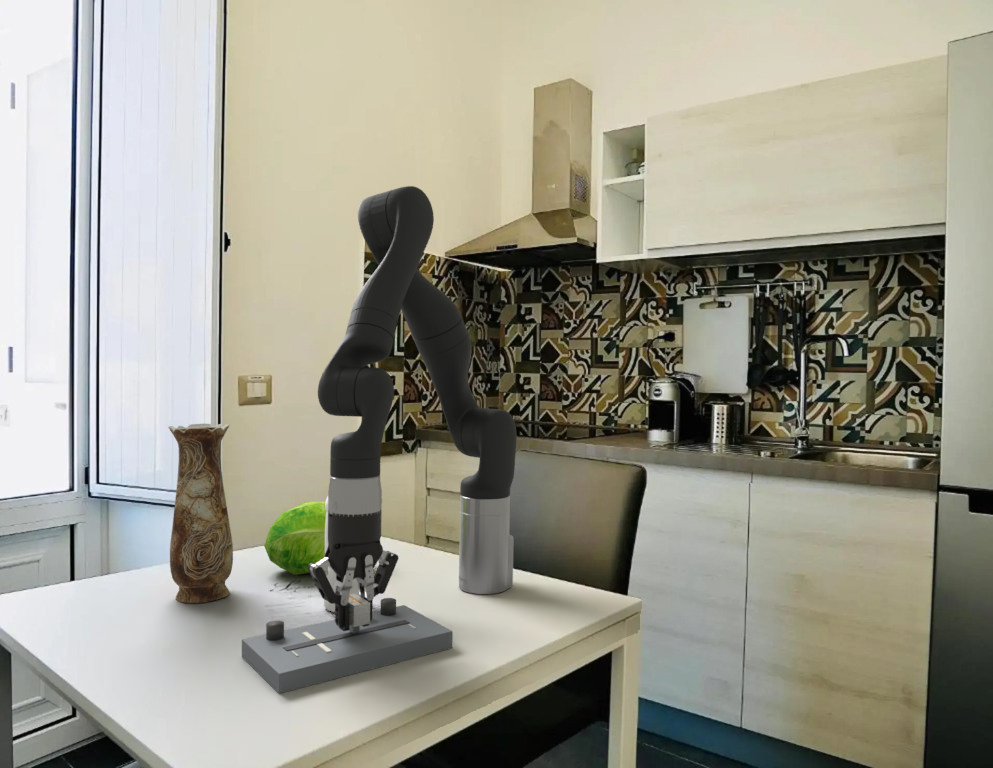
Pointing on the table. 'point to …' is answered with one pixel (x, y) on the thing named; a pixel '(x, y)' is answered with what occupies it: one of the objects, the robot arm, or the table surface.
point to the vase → (200, 517)
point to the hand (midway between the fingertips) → (353, 626)
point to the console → (342, 647)
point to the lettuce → (298, 537)
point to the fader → (358, 612)
